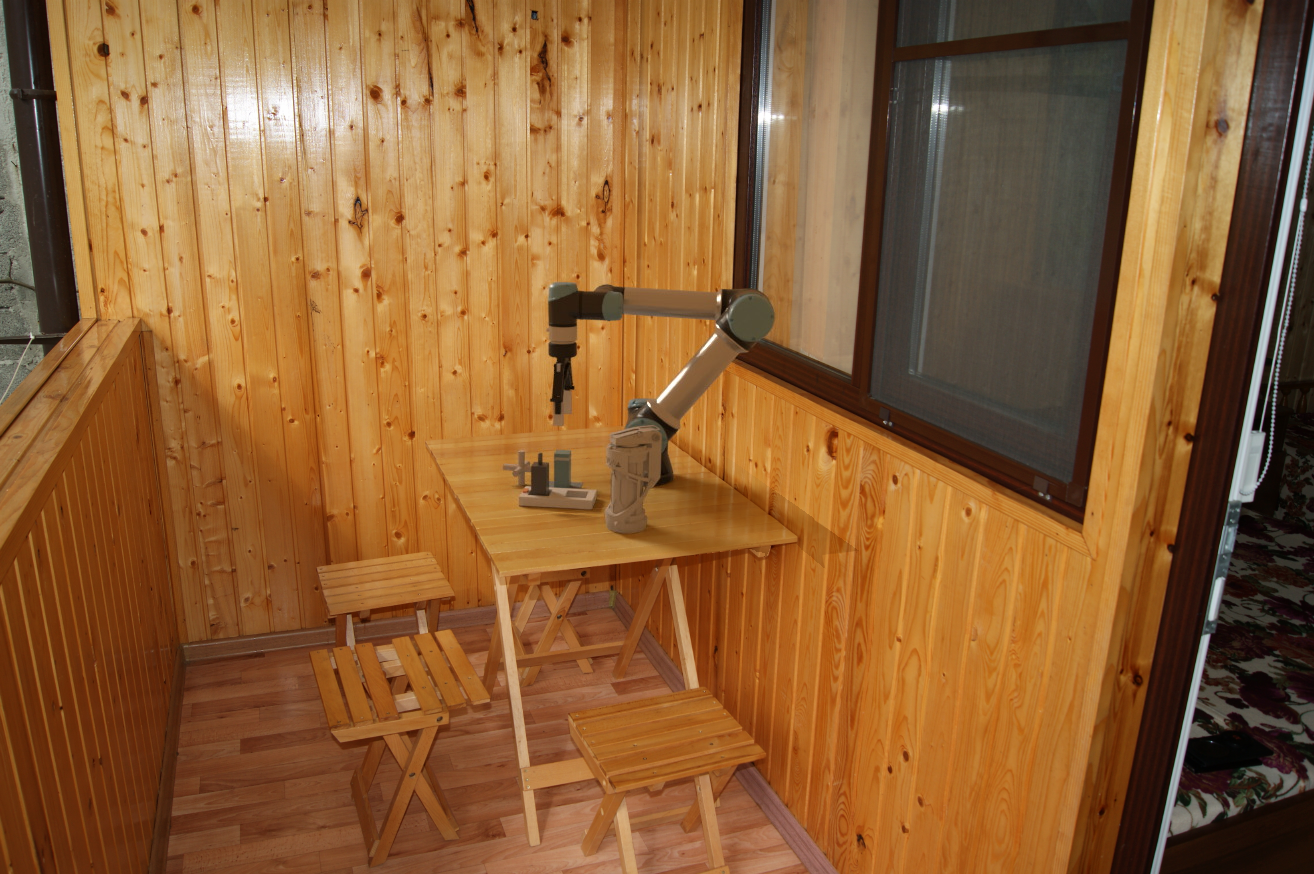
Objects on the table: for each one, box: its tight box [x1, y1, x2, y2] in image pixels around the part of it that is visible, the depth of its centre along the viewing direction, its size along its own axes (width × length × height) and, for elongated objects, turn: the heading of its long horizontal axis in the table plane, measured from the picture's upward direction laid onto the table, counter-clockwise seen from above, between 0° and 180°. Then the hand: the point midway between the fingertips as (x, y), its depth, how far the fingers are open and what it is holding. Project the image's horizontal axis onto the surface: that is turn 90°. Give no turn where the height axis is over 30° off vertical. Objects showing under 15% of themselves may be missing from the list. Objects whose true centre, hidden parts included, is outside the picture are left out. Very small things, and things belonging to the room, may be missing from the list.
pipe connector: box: [502, 449, 532, 486], centre depth 284 cm, size 10×10×10 cm
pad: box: [549, 480, 584, 489], centre depth 284 cm, size 10×10×1 cm
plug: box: [553, 449, 572, 488], centre depth 283 cm, size 4×4×10 cm
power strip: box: [518, 485, 598, 511], centre depth 271 cm, size 19×9×4 cm, turn 86°
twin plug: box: [530, 452, 550, 496], centre depth 270 cm, size 4×4×13 cm
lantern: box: [604, 425, 662, 534], centre depth 254 cm, size 13×10×25 cm
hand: (562, 419), depth 279 cm, fingers open, 13 cm apart
